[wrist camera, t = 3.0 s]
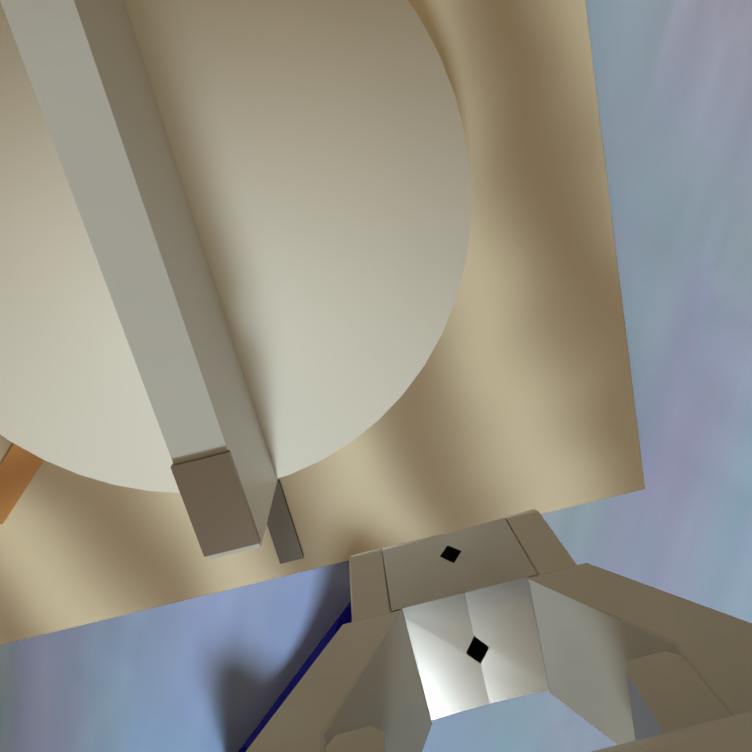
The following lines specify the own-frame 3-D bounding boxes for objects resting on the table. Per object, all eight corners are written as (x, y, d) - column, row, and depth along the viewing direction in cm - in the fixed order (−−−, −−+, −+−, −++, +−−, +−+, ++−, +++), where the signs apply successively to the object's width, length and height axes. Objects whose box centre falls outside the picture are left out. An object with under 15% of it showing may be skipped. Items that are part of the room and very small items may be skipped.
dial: (391, -207, 17) (415, -416, 12) (508, 408, 23) (563, 475, 17) (-247, -37, 18) (-536, -157, 12) (19, 528, 23) (-89, 634, 17)
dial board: (512, -416, 17) (528, -478, 16) (628, 473, 26) (646, 490, 24) (-438, -158, 18) (-513, -193, 16) (-23, 631, 26) (-47, 658, 25)
